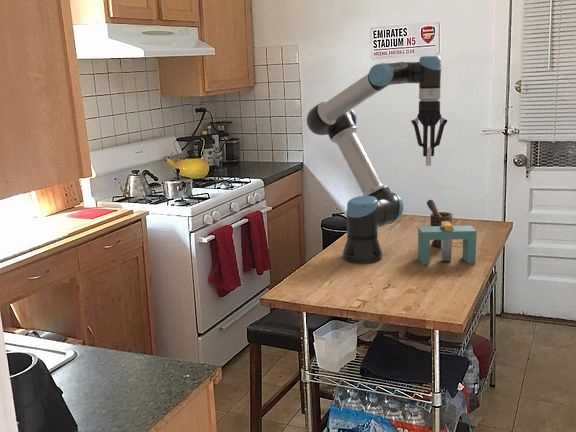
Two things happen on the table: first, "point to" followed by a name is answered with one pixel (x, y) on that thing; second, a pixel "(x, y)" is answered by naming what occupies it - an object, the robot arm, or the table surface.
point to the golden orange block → (446, 242)
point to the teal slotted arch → (437, 234)
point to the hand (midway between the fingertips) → (428, 165)
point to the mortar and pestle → (438, 219)
